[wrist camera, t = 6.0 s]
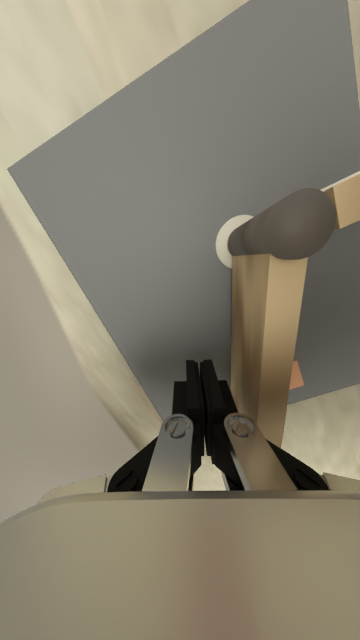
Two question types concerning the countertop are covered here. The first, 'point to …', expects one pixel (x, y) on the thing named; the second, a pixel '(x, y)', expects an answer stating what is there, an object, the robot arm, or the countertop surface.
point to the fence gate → (272, 301)
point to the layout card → (210, 192)
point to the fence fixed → (346, 201)
